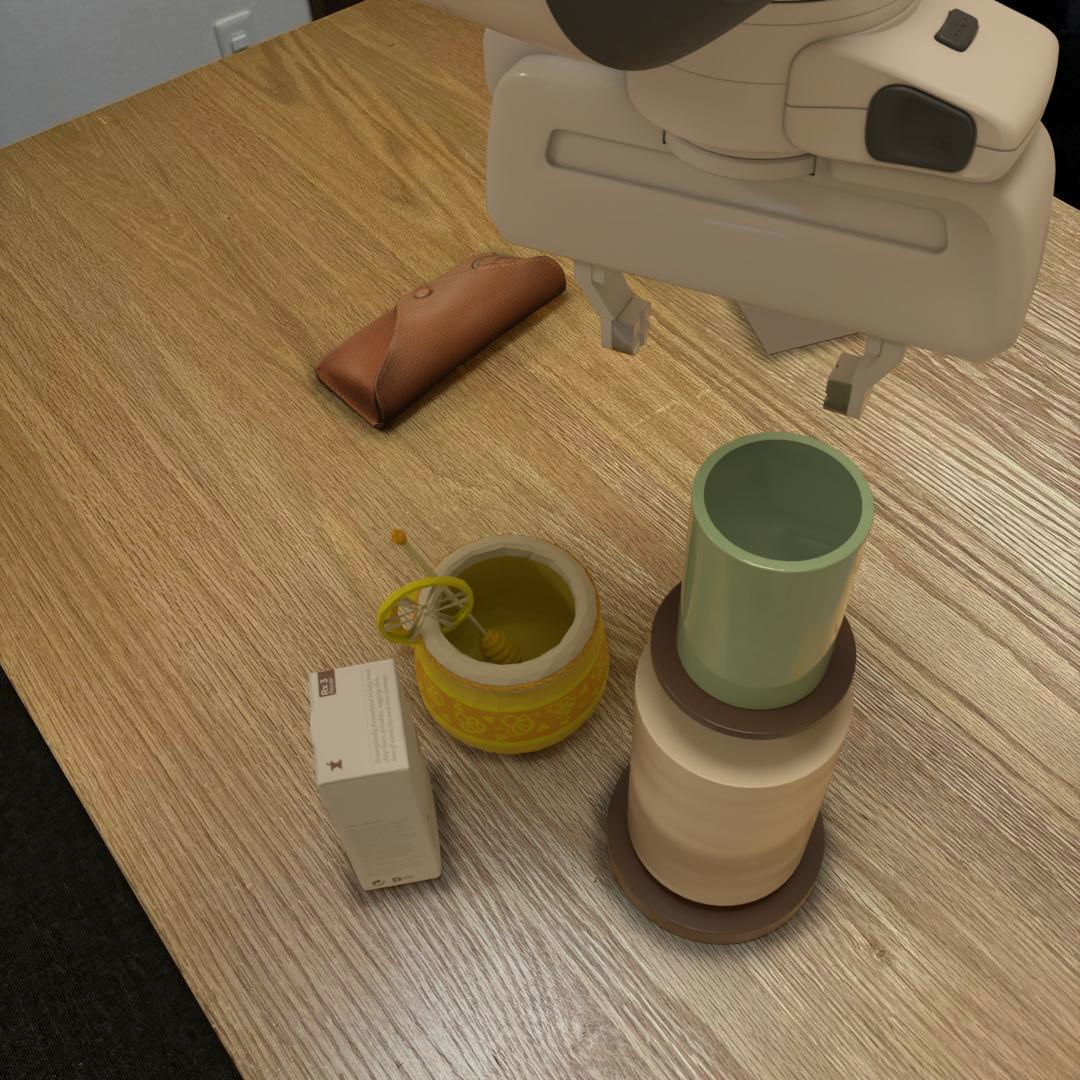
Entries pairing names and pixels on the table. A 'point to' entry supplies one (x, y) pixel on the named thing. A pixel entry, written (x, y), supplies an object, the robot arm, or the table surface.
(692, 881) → the holder
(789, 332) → the platform
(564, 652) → the honey pot with dipper
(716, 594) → the cup
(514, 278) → the sunglasses case
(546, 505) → the table surface
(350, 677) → the cosmetic box
